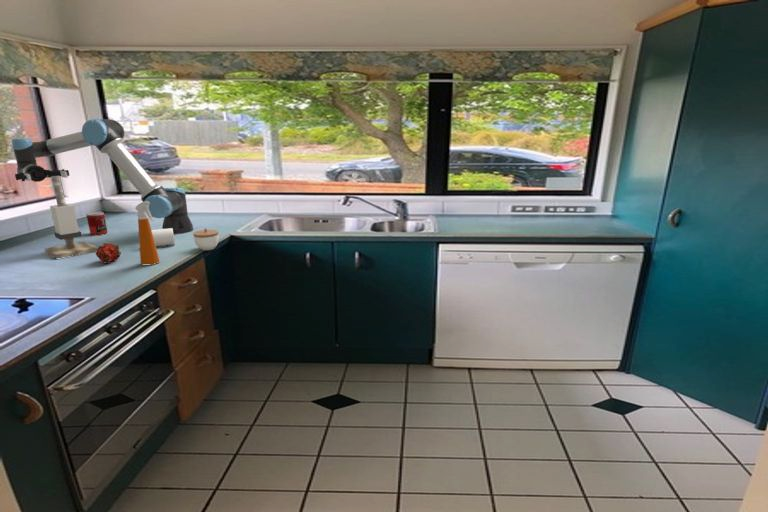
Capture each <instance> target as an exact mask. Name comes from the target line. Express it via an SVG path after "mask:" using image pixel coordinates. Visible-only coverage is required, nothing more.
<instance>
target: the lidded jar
mask: <svg viewBox="0 0 768 512" xmlns="http://www.w3.org/2000/svg"><path fill="white" fill-rule="evenodd" d="M193 238H194V243H195V245H196V246H197V247H198V248H199V249H200V250H201V249H202V250H201V251H211V250H214V249H216V247H217V245H218V243H219V238H220V237H219V230H217V229H207V228H204V229H201V230H198V231H197V230H196V231H194V233H193Z"/></svg>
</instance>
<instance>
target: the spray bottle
mask: <svg viewBox="0 0 768 512" xmlns="http://www.w3.org/2000/svg"><path fill="white" fill-rule="evenodd" d="M149 204H150V203H149V202H148V201H144V202H143V201H142V202H140V203H138V204H137V205H136V207H135V210H136V211H137V221H138V222H137V223H138V225H137V226H138V243H139V259H140V265H141V264H154V263H157V262H159V261H160V257H159V254H158V250H157V247H156V246H155V242H154V238H153V235H152V231H151V230H152V227H151V224H150V220H151V222H154V221H155V219H154V217H152V215H151V213H150V211H149ZM149 219H150V220H149ZM159 263H160V262H159Z"/></svg>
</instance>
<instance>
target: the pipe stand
mask: <svg viewBox="0 0 768 512" xmlns="http://www.w3.org/2000/svg"><path fill="white" fill-rule="evenodd" d="M50 178H51V183H52V187H53V190H54V197H55V199H56V205H58V207H61V206H66V204H67V203H66V199H65V195H64V189H63V184H62V180H61V176H51V177H50ZM63 241H65V244H62V245H57V246H51V247H46V248H44V252H46V253H45V254H47V253H48V254H49V255H48V254H47V255H48V256H50V255H51V256H50V257H52V256H53V257H55V258H62V257H67V258H69V257H68V256H72V255H77V256H80V255H79V254H82V255H84V254H83V253H87V254H90V253H89V252H92V253H95V252H94V251H97V249H98V247H97V246H96V245H94V244H92V243H90V242H87V241H80V242H75V238H69V239H63ZM53 257H52V258H53ZM72 257H73V256H72ZM55 258H54V259H55ZM62 259H63V258H62Z"/></svg>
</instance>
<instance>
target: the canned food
mask: <svg viewBox="0 0 768 512" xmlns="http://www.w3.org/2000/svg"><path fill="white" fill-rule="evenodd" d="M105 218H106V216H105V213H104V211H93V212H88V213H86V220H87V225H88V229H89V230H88V231H89V234H90V235H91V236H93V235H98V236H103V235H102V234H104V235H106V233H107V234H108V229H107V222H106V219H105Z"/></svg>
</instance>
